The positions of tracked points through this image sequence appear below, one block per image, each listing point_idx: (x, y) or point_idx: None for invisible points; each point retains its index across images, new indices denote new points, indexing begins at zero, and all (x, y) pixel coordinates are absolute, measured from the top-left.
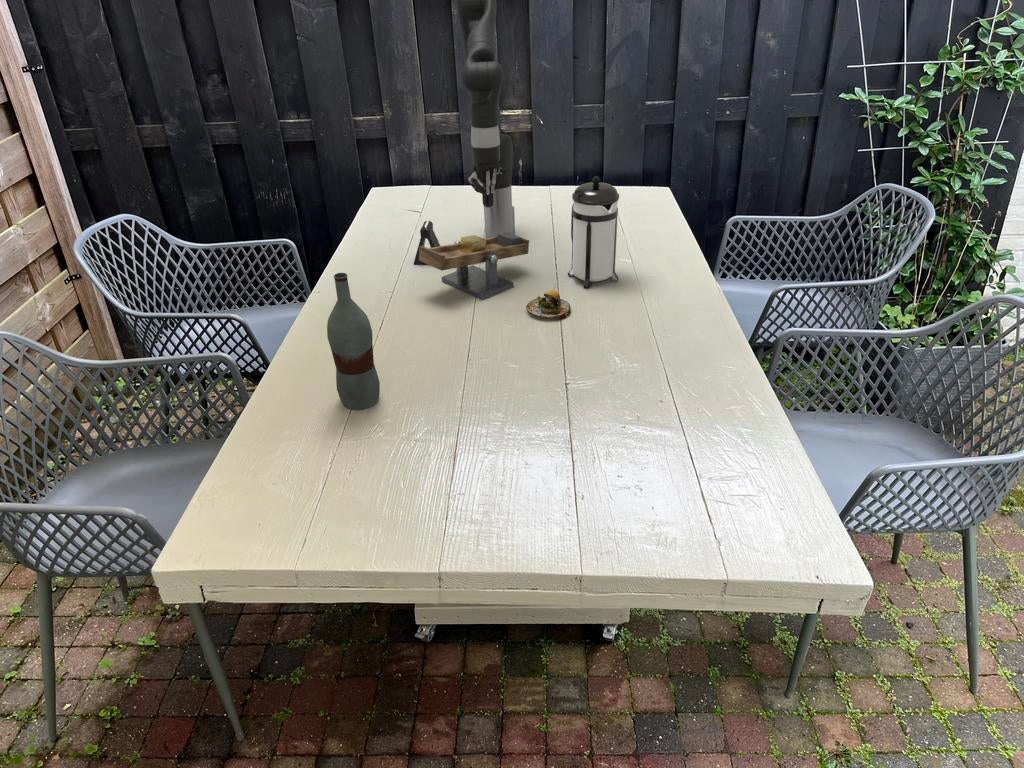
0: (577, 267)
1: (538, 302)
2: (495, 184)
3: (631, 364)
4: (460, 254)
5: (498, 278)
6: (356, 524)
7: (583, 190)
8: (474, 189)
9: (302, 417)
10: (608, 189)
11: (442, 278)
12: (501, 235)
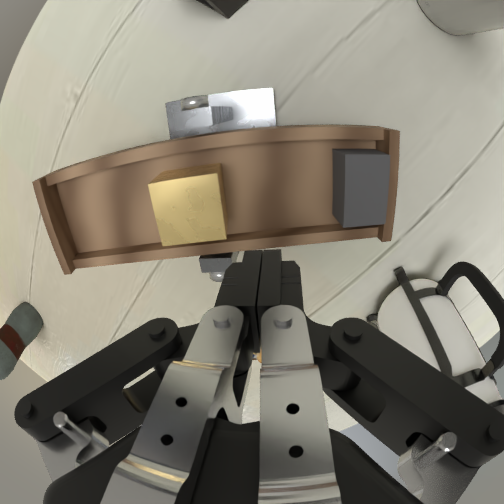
0: (383, 322)
1: None
2: (350, 383)
3: (247, 417)
4: (147, 200)
5: None
6: (46, 374)
7: None
8: (121, 339)
9: (6, 300)
10: None
11: (167, 106)
12: (344, 176)
